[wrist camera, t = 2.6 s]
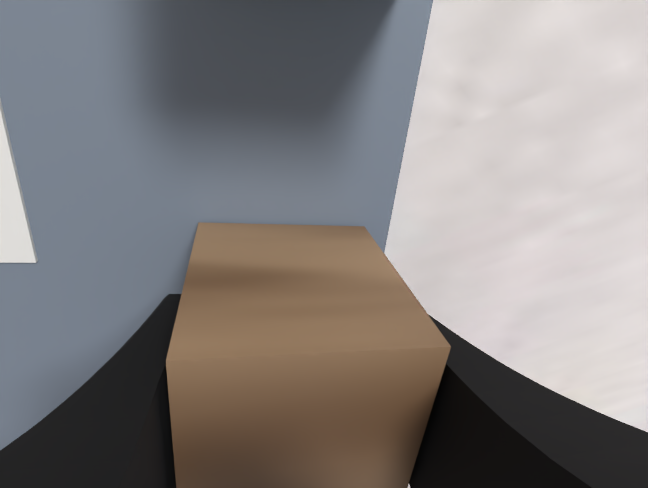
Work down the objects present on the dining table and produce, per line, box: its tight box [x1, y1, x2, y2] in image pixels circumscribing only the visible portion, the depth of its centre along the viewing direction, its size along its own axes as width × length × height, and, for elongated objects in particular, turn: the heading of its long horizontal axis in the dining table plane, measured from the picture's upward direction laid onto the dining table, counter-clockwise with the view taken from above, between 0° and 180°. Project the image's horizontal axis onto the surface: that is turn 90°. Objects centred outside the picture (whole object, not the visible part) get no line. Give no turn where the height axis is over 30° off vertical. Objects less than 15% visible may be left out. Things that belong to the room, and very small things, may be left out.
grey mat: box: [0, 0, 433, 450], centre depth 9 cm, size 20×16×1 cm
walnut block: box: [166, 222, 451, 488], centre depth 9 cm, size 4×4×5 cm
